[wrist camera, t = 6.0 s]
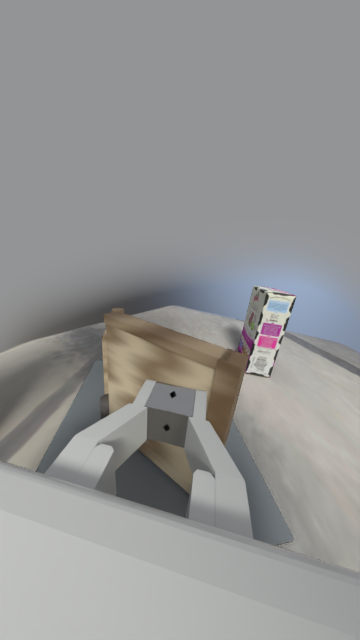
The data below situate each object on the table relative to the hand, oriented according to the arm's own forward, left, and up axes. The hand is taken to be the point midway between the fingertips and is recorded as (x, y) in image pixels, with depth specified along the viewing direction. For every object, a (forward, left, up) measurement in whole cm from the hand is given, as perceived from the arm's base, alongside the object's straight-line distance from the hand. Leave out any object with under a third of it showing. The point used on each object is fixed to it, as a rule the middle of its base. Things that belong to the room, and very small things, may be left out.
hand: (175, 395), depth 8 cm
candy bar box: (+24, -22, -13) cm, 35 cm away
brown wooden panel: (+6, 0, -13) cm, 14 cm away
